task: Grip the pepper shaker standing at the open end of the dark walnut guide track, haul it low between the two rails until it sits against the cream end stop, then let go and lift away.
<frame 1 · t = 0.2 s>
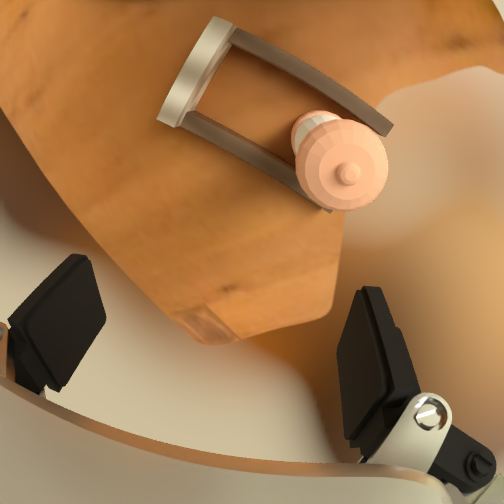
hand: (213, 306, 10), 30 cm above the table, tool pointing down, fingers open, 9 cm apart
guide track: (278, 112, 33), on the table
pepper shaker: (319, 137, 35), on the table
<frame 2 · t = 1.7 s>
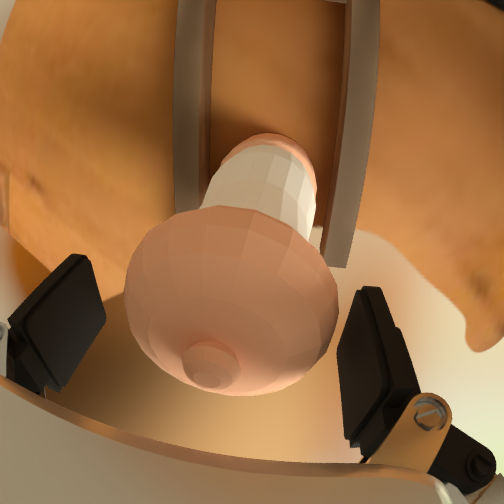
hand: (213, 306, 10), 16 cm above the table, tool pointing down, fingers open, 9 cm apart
guide track: (274, 104, 20), on the table
pepper shaker: (269, 176, 24), on the table
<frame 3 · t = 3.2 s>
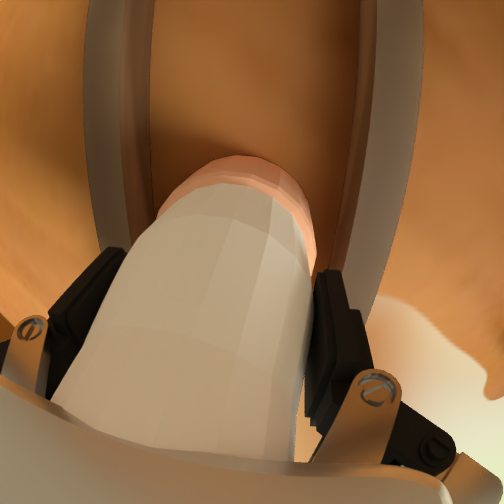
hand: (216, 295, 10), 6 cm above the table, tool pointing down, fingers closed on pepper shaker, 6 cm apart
guide track: (247, 108, 13), on the table
pepper shaker: (242, 221, 16), on the table, touching gripper
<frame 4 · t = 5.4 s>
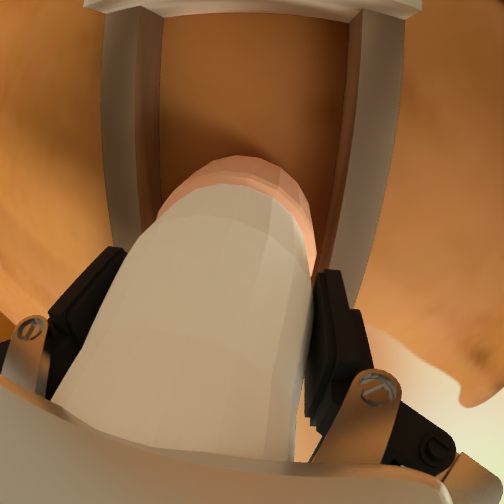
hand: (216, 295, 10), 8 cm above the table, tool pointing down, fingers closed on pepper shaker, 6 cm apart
guide track: (243, 176, 16), on the table
pepper shaker: (242, 221, 16), point 2 cm above the table, touching gripper
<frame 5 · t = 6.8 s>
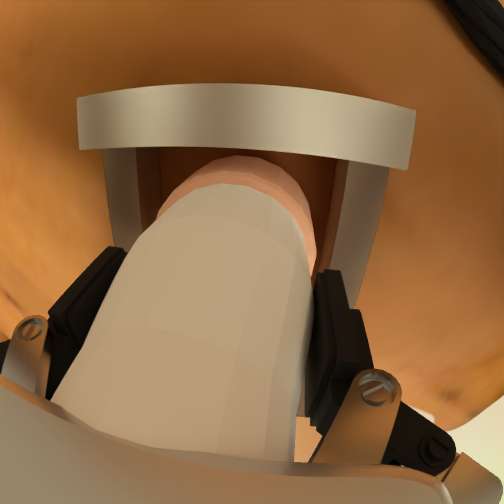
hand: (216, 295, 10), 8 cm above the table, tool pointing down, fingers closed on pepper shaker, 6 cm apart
guide track: (239, 280, 20), on the table
pepper shaker: (242, 221, 16), point 2 cm above the table, touching gripper
when the fingers open (7 cm above the table, at t = 7.9 s): pepper shaker stays where it is, on the table.
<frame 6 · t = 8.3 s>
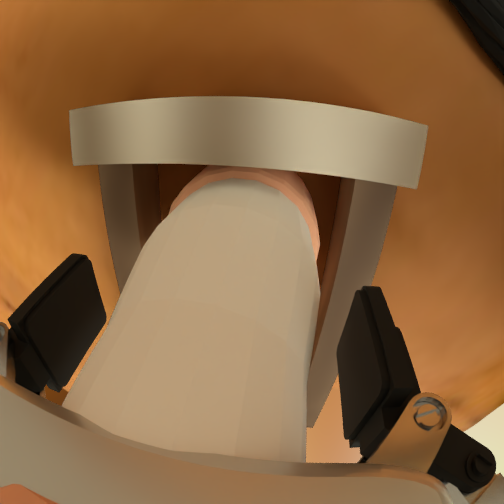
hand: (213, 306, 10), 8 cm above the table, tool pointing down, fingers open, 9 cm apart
guide track: (241, 294, 19), on the table
pepper shaker: (249, 215, 17), on the table
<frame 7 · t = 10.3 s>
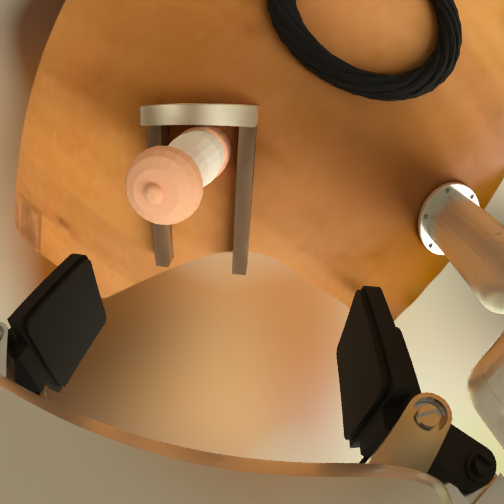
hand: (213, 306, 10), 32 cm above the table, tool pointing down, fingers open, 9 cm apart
guide track: (202, 187, 41), on the table
pepper shaker: (205, 149, 38), on the table
cable lock: (371, 3, 26), on the table
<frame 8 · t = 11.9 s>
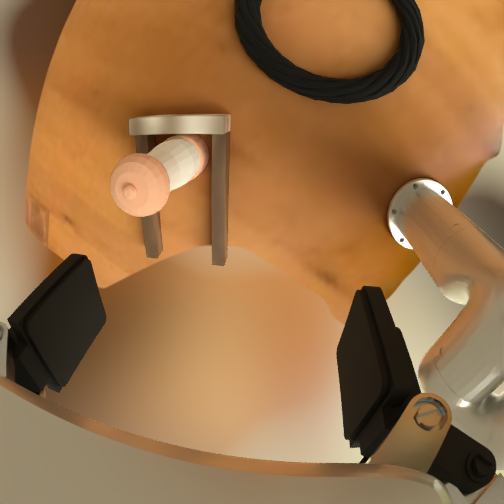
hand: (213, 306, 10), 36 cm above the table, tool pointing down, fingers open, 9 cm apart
guide track: (185, 187, 46), on the table
pepper shaker: (187, 154, 43), on the table
cable lock: (334, 12, 30), on the table
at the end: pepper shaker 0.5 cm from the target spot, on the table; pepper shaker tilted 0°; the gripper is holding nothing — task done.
